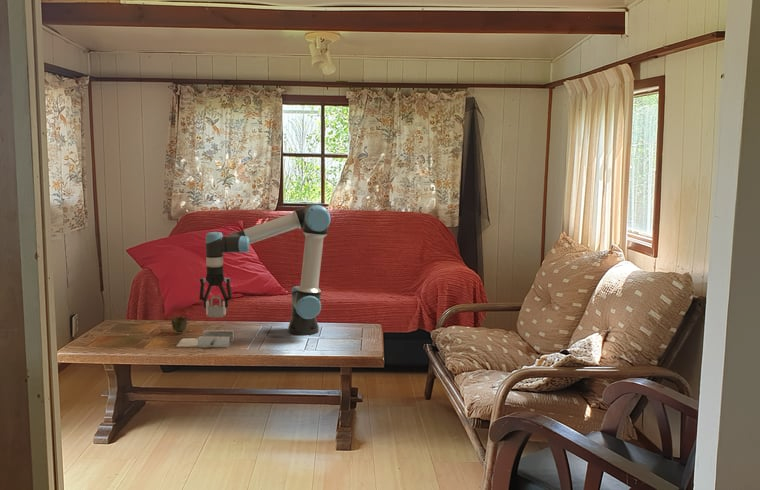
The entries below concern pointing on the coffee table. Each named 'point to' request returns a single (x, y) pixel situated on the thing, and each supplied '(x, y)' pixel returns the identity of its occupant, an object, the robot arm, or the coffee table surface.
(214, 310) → the padlock
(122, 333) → the coffee table surface
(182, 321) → the cup
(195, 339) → the pad
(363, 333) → the coffee table surface
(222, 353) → the coffee table surface
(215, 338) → the vise
